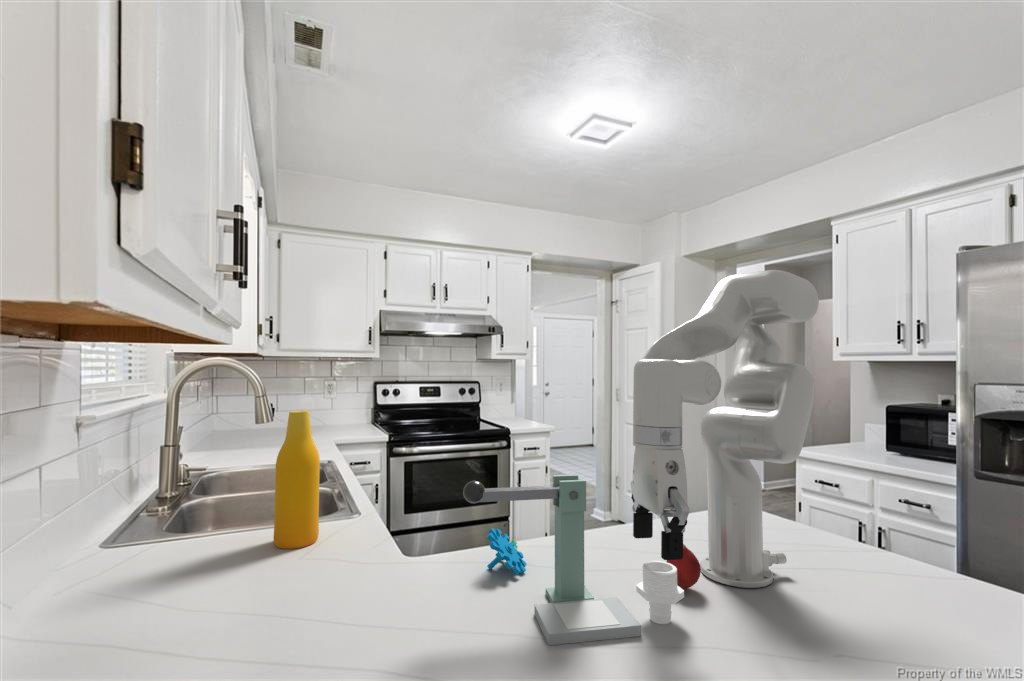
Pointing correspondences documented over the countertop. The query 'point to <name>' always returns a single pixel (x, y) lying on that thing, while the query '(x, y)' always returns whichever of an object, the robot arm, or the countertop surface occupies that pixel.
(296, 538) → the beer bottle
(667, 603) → the pipe fitting
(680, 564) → the onion
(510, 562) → the gear
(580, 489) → the press
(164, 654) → the countertop surface
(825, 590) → the countertop surface
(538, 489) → the lever
